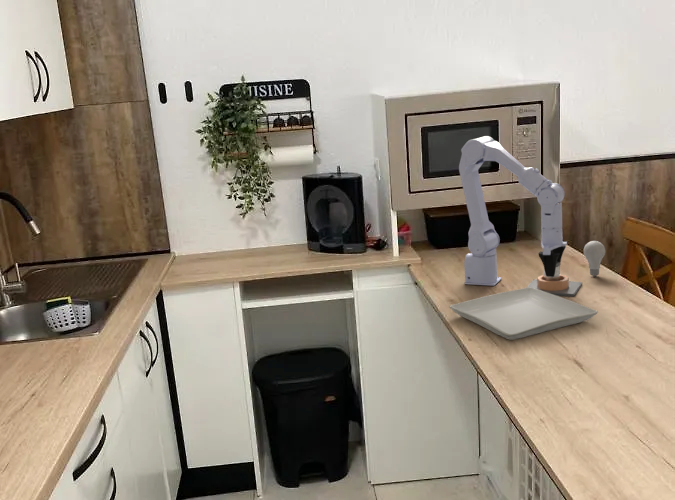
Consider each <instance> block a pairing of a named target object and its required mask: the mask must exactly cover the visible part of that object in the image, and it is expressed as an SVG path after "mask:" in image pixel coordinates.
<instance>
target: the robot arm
mask: <svg viewBox="0 0 675 500" xmlns="http://www.w3.org/2000/svg"><path fill="white" fill-rule="evenodd" d="M460 152H461V156H460V161H459V165H458V171H459V175H460V181H461V185H462V189H463V194H464V198H465V203H466V208H467V212H468V217H469V221H470V227H469V230H468V242H467V246H468V250H469V252H470V253H469V252H468V253H467V254H465V257H464V265H463V266H464V267H463V268H464V285H476V286H491V287H492V286H496V285H497V284H498V283H499V282H500V281H501V280H502V277H500V276H498V262H497V247H498V246H499V245H500V240H501V239H500V236H499V234H498V233H497V231H496V230H495V226H494V224H493V223H492V222H491V221H490V220H489V216H488V210H487V206H486V201H485V197H484V191H483V187H482V183H481V178H480V173H479V169H480V168H481V167H482V165H483V164H484V162H487V161H488V162H496V163H498V164H499V165H500V166H502V167H504V168H505V169H506V170H508V171H509V172H510V173H512V174H513V175H515V176H516V177H517V179H518V184H520V186H522V187H523V188H524V189H526V190H527V191H528V192H529V193H531V194H532V195H533V196H534V197H536V198H537V202H538V204H539V205H540V208H541V209H540V218H541V219H540V222H541V223H540V225H541V227H540V228H541V233H540V234H541V241H540V246H541V248H542V251H539V252H538V257H539V259H540V261H541V263H542V266H543V270H544V269H545V273H546V276H549V277H554V275H555V269H556V263H557V261H558V262H560V264H561V262H562V257H563V254H564V252H565V249H566V247H567V245H568V241H563V206H562V205H563V203H562V202H563V200H564V198H565V196H566V195H565V194H566V193H565V189H564V187H562V185H561V184H560V183H557V182H554V183H553V180H552V179H548V178H546V177H545V176H544V175H542V174H541V173H540V169H539V168H536V167H535V168H534V167H526V166H524V165H523V164H522V163H521V162H520V161H519V160H518V159H516V157H514V156H513V155H512V154H511V153H509V152H508V151H507V149H505V148H504V147H503V146H502V145H501V143H500V142H499V141H497V140H495V139H494V138H493V137H491V136H489V135H484V136H481V137H477V138H473V139H469V140H468V141H466V143H465V144H464V145H463V146H462V147H461V149H460Z"/></svg>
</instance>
